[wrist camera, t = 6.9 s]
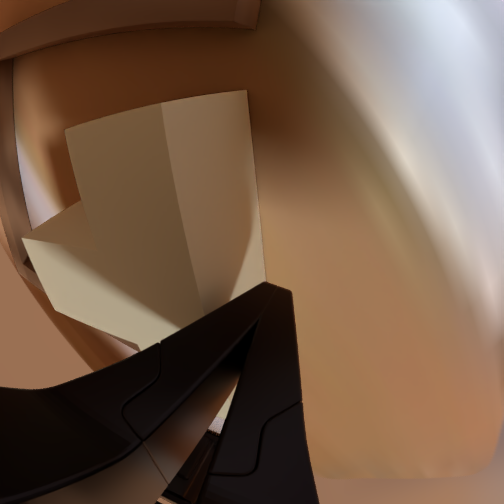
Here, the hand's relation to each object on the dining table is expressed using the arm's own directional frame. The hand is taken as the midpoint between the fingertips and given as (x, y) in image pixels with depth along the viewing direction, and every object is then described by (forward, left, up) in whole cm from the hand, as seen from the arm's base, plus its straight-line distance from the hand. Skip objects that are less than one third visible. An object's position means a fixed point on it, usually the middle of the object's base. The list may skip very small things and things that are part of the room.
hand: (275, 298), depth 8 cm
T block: (-1, +5, -3) cm, 6 cm away
